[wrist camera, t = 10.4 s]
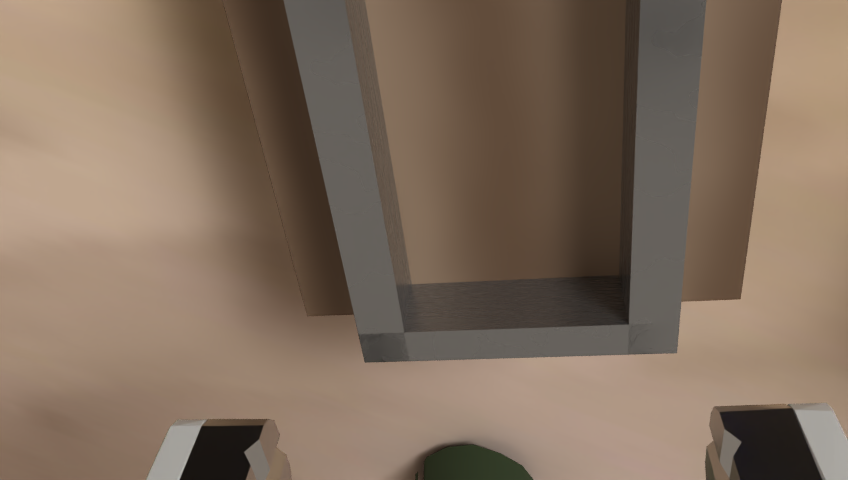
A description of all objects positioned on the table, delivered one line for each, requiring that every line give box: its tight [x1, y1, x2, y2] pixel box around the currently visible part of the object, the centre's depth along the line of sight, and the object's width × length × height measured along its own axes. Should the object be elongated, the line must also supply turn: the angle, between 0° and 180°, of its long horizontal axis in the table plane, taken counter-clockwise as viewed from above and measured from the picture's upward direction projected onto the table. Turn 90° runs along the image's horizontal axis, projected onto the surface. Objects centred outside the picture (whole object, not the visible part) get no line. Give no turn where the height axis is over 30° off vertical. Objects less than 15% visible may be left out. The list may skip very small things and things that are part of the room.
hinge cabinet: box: [223, 0, 782, 362], centre depth 24 cm, size 15×17×8 cm
